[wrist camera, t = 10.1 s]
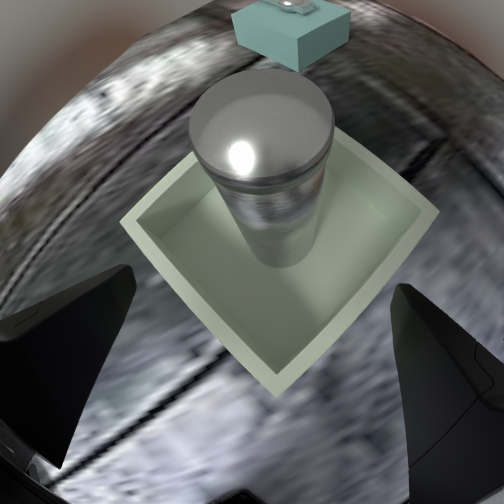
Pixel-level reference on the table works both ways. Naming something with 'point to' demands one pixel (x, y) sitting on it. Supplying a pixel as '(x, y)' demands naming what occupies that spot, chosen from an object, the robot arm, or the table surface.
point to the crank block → (292, 32)
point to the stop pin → (266, 157)
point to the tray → (282, 279)
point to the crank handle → (292, 5)
